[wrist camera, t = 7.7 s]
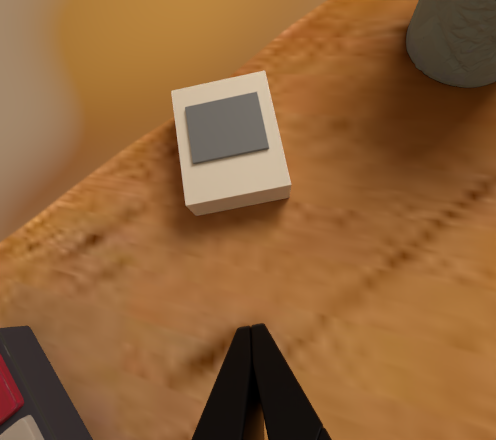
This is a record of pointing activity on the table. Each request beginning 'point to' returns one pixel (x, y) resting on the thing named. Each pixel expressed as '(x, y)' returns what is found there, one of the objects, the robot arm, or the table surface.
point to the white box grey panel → (229, 144)
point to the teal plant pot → (454, 41)
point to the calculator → (33, 393)
